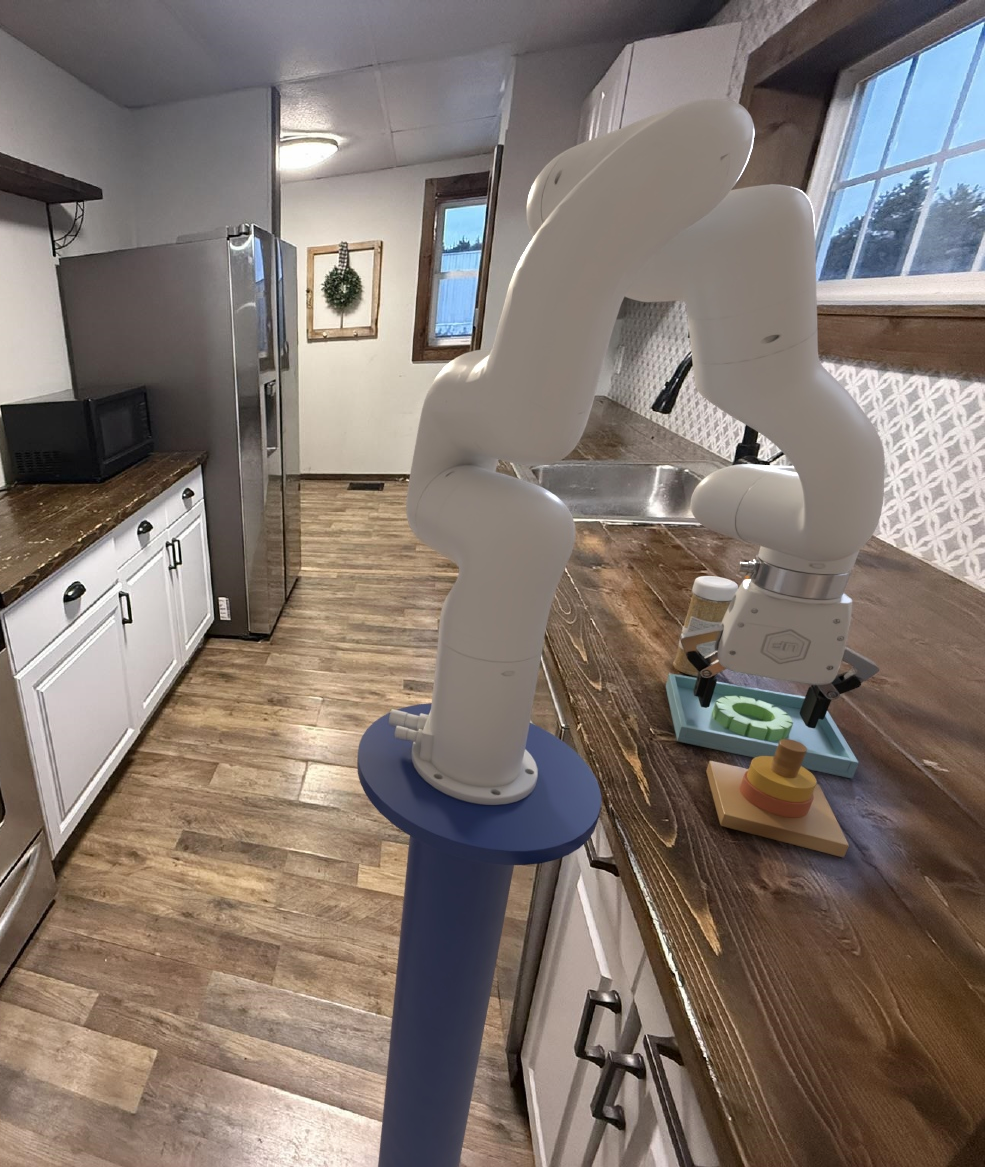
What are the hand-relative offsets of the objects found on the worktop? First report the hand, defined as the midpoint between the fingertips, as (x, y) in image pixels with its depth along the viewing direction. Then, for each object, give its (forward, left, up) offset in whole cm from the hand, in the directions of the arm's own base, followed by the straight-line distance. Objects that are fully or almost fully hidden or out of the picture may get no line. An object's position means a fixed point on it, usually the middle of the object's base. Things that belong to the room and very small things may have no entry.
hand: (753, 711), depth 74 cm
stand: (-1, -16, -2) cm, 16 cm away
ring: (0, 0, -2) cm, 2 cm away
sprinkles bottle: (-4, +13, -2) cm, 14 cm away
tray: (0, 0, -2) cm, 2 cm away
